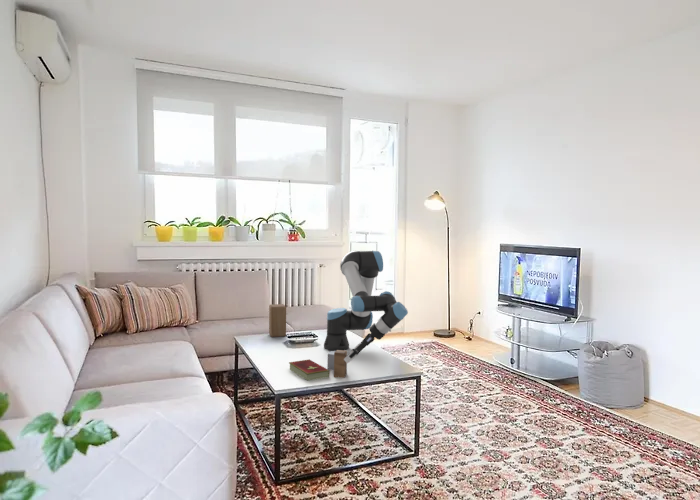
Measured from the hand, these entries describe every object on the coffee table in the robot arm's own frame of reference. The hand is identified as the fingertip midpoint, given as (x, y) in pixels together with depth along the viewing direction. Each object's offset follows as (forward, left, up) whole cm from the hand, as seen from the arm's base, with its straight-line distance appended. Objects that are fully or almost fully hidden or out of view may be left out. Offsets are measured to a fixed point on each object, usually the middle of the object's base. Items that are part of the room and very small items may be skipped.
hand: (349, 357), depth 232 cm
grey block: (-12, -10, -10) cm, 19 cm away
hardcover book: (-1, -21, -10) cm, 23 cm away
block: (-71, -66, -10) cm, 97 cm away
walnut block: (-1, -4, -10) cm, 11 cm away
